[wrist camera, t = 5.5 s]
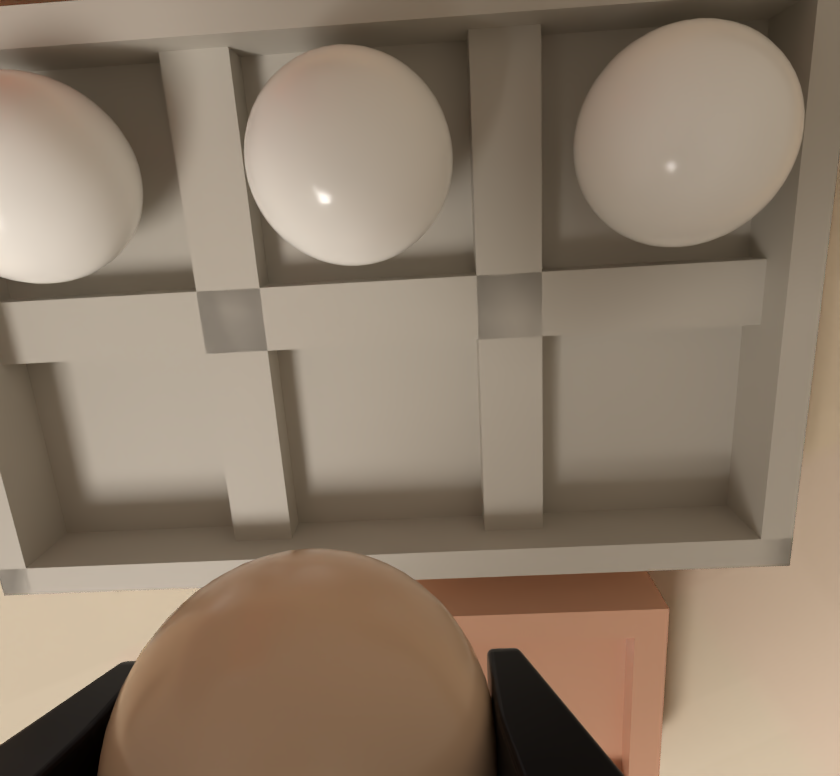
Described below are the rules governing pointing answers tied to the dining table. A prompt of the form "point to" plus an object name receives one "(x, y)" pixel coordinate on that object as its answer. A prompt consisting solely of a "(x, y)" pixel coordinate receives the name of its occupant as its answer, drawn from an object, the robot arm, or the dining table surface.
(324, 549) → the brown egg
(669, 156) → the white egg
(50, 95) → the white egg
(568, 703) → the egg dish
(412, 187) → the white egg
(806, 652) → the dining table surface
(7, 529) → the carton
